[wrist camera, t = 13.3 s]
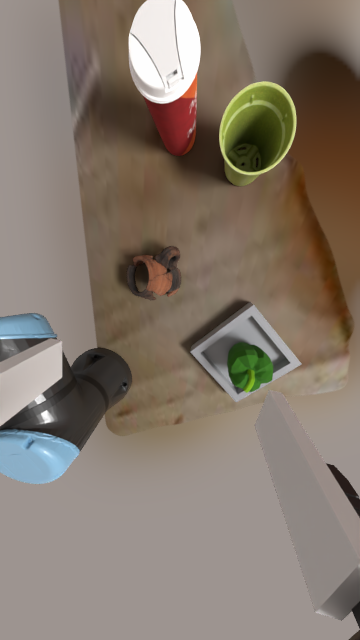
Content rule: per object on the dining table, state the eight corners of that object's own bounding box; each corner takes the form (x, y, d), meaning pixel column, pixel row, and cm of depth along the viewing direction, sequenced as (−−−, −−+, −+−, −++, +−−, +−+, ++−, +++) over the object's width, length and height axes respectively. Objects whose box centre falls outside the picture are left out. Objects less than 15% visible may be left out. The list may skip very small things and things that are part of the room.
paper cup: (208, 149, 31) (211, 63, 18) (168, 171, 33) (143, 109, 20) (191, 95, 30) (181, -42, 16) (150, 122, 31) (110, 18, 18)
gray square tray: (234, 393, 44) (236, 402, 42) (191, 346, 42) (190, 351, 39) (294, 357, 40) (301, 364, 37) (249, 301, 38) (253, 304, 35)
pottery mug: (169, 307, 41) (141, 311, 34) (147, 279, 44) (117, 277, 37) (201, 263, 34) (173, 258, 28) (172, 233, 37) (141, 222, 31)
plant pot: (271, 124, 29) (296, 69, 21) (272, 190, 32) (296, 164, 24) (212, 140, 31) (215, 95, 23) (218, 202, 33) (223, 182, 25)
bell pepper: (246, 328, 38) (260, 349, 29) (270, 355, 39) (291, 384, 30) (215, 351, 41) (218, 377, 31) (238, 376, 42) (248, 409, 32)
